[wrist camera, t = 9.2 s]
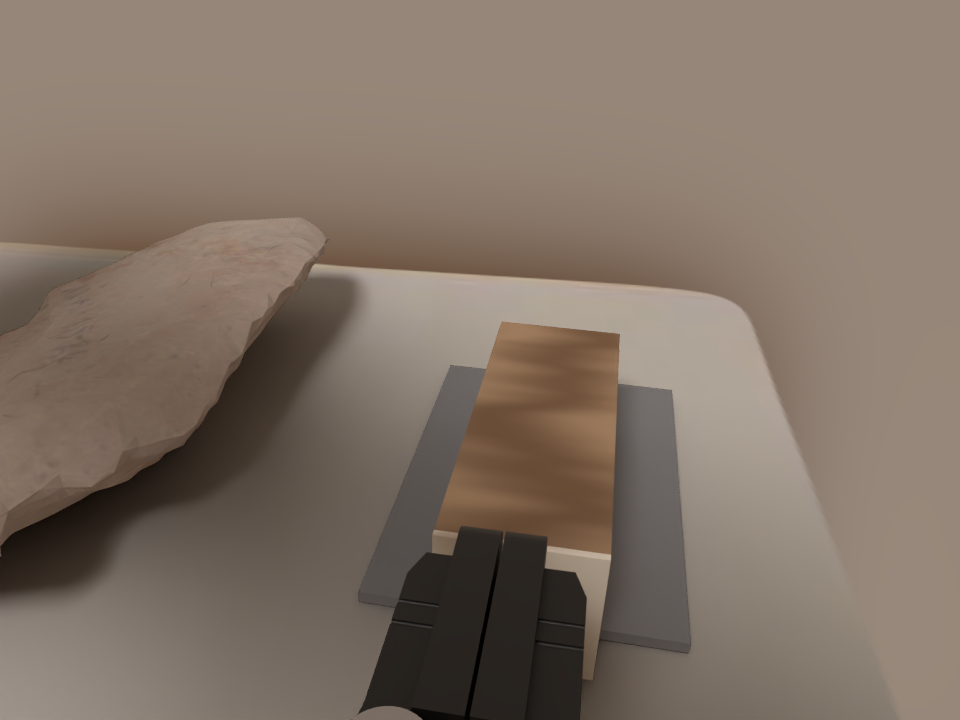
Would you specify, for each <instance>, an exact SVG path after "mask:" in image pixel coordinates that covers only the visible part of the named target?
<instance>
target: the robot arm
mask: <svg viewBox="0 0 960 720" xmlns="http://www.w3.org/2000/svg"><path fill="white" fill-rule="evenodd" d="M547 543H548V537H546V536H539V535H531V534H524V533H516V532H508V531H506V533H505V538H504V543H503V531H499V530H492V529H484V528H477V527H469V526H461V527H460V529H459V533H458V536H457V540H456V544H455V547H454V551H453V555H452V556H451V555H444V554H437V553H430V552H426V553H425V554H424V555H423V556H422V558H421V559H420V560H419V561H418V562H417V563H416V564H415V565H414V566H413V567H412V568H411V569H410V570H409V571H408V572H407V575H406V578H405V581H404V584H403V587H402V590H401V593H400V596H399V601H398V603H397V605H396V608H395V611H394V614H393V617H392V623H391V624H390V626H389V629H388V632H387V635H386V638H385V641H384V644H383V647H382V650H381V653H380V656H379V659H378V662H377V665H376V668H375V671H374V674H373V677H372V680H371V683H370V686H369V689H368V692H367V695H366V698H365V701H364V703H363V706H362V708H361V709H360V711H359V713H358V714H357V716H355V717H354V718H352V719H351V720H580V709H581V692H582V675H583V658H584V640H585V623H586V606H587V597H586V595H585V592H584V590H583V588H582V586H581V583H580V581H579V579H578V576H577V574H576V572H569V571H562V570H555V569H547V568H545V564H546V554H547Z"/></svg>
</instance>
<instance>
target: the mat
mask: <svg viewBox="0 0 960 720" xmlns="http://www.w3.org/2000/svg"><path fill="white" fill-rule="evenodd" d="M485 371H486V369H481V368H472V367H463V366H454V365H451V366H450V368H449V371H448V373H447V376H446V378H445V380H444V383H443V385H442V388H441V390H440V393H439V395H438V398H437V400H436V403H435V405H434V407H433V410H432V412H431V415H430V417H429V420H428V422H427V425H426V427H425V430H424V432H423V435H422V437H421V439H420V442H419V444H418V447H417V449H416V452H415V454H414V457H413V459H412V462H411V464H410V467H409V469H408V471H407V474H406V476H405V479H404V481H403V484H402V486H401V489H400V491H399V494H398V496H397V499H396V501H395V503H394V506H393V508H392V511H391V513H390V516H389V518H388V521H387V523H386V526H385V528H384V530H383V533H382V535H381V538H380V540H379V543H378V545H377V548H376V550H375V553H374V555H373V558H372V560H371V562H370V565H369V567H368V570H367V572H366V575H365V577H364V580H363V582H362V585H361V587H360V590H359V592H358V594H359V602H365V603H371V604H378V605H384V606H391V607H396V605H397V603H398V601H399V596H400V593H401V590H402V587H403V584H404V581H405V578H406V575H407V572H408V571H409V570H410V569H411V568H412V567H413V566H414V565H415V564H416V563H417V562H418V561H419V560H420V559H421V558H422V556H423V555H424V554H425V553H426V552H430V553H432V534H433V531H434V528H435V525H436V522H437V519H438V516H439V513H440V510H441V507H442V504H443V500H444V497H445V494H446V491H447V488H448V485H449V482H450V479H451V476H452V473H453V470H454V467H455V464H456V461H457V457H458V454H459V451H460V448H461V445H462V442H463V439H464V436H465V433H466V430H467V427H468V424H469V421H470V418H471V414H472V411H473V408H474V405H475V402H476V399H477V396H478V393H479V390H480V387H481V384H482V381H483V378H484V375H485ZM599 639H601V640H608V641H614V642H621V643H627V644H633V645H640V646H646V647H652V648H659V649H665V650H672V651H678V652H684V653H689V649H690V645H691V641H690V627H689V614H688V600H687V587H686V573H685V560H684V546H683V533H682V520H681V506H680V493H679V479H678V466H677V452H676V439H675V425H674V412H673V399H672V390H667V389H658V388H649V387H641V386H632V385H623V384H618V389H617V415H616V441H615V467H614V493H613V519H612V545H611V563H610V570H609V576H608V583H607V589H606V596H605V602H604V609H603V616H602V622H601V629H600V635H599Z"/></svg>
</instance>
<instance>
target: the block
mask: <svg viewBox="0 0 960 720" xmlns="http://www.w3.org/2000/svg"><path fill="white" fill-rule="evenodd" d="M619 337H620V334H615V333H606V332H596V331H586V330H577V329H567V328H558V327H548V326H538V325H529V324H519V323H510V322H501V325H500V328H499V332H498V335H497V338H496V341H495V344H494V347H493V350H492V353H491V356H490V359H489V362H488V365H487V368H486V371H485V375H484V378H483V381H482V384H481V387H480V390H479V393H478V396H477V399H476V402H475V405H474V408H473V411H472V414H471V418H470V421H469V424H468V427H467V430H466V433H465V436H464V439H463V442H462V445H461V448H460V451H459V454H458V457H457V461H456V464H455V467H454V470H453V473H452V476H451V479H450V482H449V485H448V488H447V491H446V494H445V497H444V500H443V504H442V507H441V510H440V513H439V516H438V519H437V522H436V525H435V528H434V531H433V534H432V553H437V554H444V555H451V556H452V555H453V551H454V547H455V544H456V540H457V536H458V533H459V529H460V527H461V526H469V527H477V528H484V529H492V530H499V531H503V543H504V538H505V533H506V531H508V532H516V533H524V534H531V535H539V536H546V537H548V543H547V554H546V564H545V568H547V569H555V570H562V571H569V572H576V574H577V576H578V579H579V581H580V583H581V586H582V588H583V590H584V592H585V595H586V597H587V606H586V623H585V640H584V658H583V675H582V679H586V680H592V681H593V674H594V668H595V661H596V655H597V648H598V642H599V635H600V629H601V622H602V616H603V609H604V602H605V596H606V589H607V583H608V576H609V570H610V563H611V545H612V519H613V493H614V467H615V441H616V415H617V389H618V363H619Z"/></svg>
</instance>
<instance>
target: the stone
mask: <svg viewBox="0 0 960 720" xmlns="http://www.w3.org/2000/svg"><path fill="white" fill-rule="evenodd" d="M328 241H329V239H328V238H327V237H326V236H325V235H324V234H323V233H322V232H321V231H320V230H319V229H318V228H317V227H316V226H314V225H312V224H311V223H309V222H307V221H306V220H304V219H302V218H275V219H264V220H234V221H223V222H215V223H208V224H205V225H201V226H198V227H195V228H192V229H190V230H187V231H185V232H183V233H181V234H179V235H177V236H174V237H170V238H168V239H165V240H162V241H158V242H156V243H154V244H153V245H151V246H149V247H147V248H144V249H142V250H140V251H137V252H135V253H132V254H130V255H129V256H127V257H125V258H123V259H121V260H119V261H117V262H115V263H112V264H110V265H108V266H106V267H104V268H101V269H99V270H97V271H95V272H92V273H90V274H88V275H85V276H83V277H81V278H78V279H76V280H74V281H71V282H69V283H66V284H64V285H61V286H59V287H56V288H54V289H53V290H52V291H50V292H49V293H48V295H47V297H46V299H45V300H44V302H43V304H42V306H41V307H40V310H39V312H38V313H37V314H36V315H35V317H33V319H32V320H31V321H30V322H29V323H28V324H27V325H26V326H23V327H21V328H18V329H15V330H12V331H10V332H7V333H5V334H2V335H0V546H1V545H2V544H3V543H4V542H5V540H6V539H7V538H8V537H9V536H10V535H11V534H12V533H14V532H16V531H18V530H20V529H23V528H25V527H27V526H29V525H31V524H33V523H36V522H38V521H40V520H42V519H44V518H47V517H49V516H51V515H53V514H55V513H57V512H58V511H60V510H62V509H64V508H66V507H68V506H70V505H72V504H74V503H76V502H77V501H79V500H81V499H83V498H85V497H86V496H88V495H89V494H91V493H93V492H96V491H98V490H102V489H106V488H109V487H112V486H115V485H117V484H120V483H123V482H125V481H128V480H129V479H131V478H132V477H133V476H134V475H135V474H136V473H137V472H139V471H140V470H142V469H144V468H146V467H148V466H150V465H152V464H154V463H156V462H158V461H159V460H160V459H161V458H162V457H163V455H164V454H166V453H168V452H170V451H171V450H173V449H176V448H178V447H180V446H183V445H184V444H185V442H186V441H187V439H188V438H189V437H190V436H192V433H193V432H194V431H195V430H196V429H197V428H198V427H199V426H200V424H201V423H202V422H203V421H204V419H205V417H206V415H207V413H208V411H209V410H210V409H211V408H212V407H213V406H214V405H215V404H216V403H217V402H218V400H219V397H220V395H221V392H222V390H223V387H224V384H225V382H226V380H227V379H228V377H229V376H230V375H231V374H232V373H233V372H234V371H235V370H236V369H237V368H238V366H239V365H240V363H241V360H242V358H243V355H244V353H245V351H246V350H247V349H248V348H249V346H250V345H251V344H252V343H253V342H254V340H255V339H256V338H257V337H258V336H259V335H260V333H261V332H262V330H263V329H264V328H265V326H266V325H267V323H268V322H269V320H270V319H271V318H272V317H273V316H274V315H275V313H276V312H277V311H278V310H279V308H280V307H281V306H282V305H283V303H284V302H285V301H286V300H287V299H288V298H289V297H290V296H291V295H292V294H293V293H295V292H296V291H297V290H298V289H299V287H300V285H301V284H302V282H303V281H304V280H305V279H307V276H308V274H309V272H310V270H311V268H312V266H313V265H314V264H315V263H316V261H317V260H318V259H319V258H320V257H321V256H322V255H323V253H324V247H325V244H326V243H327V242H328ZM0 556H1V549H0Z"/></svg>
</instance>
